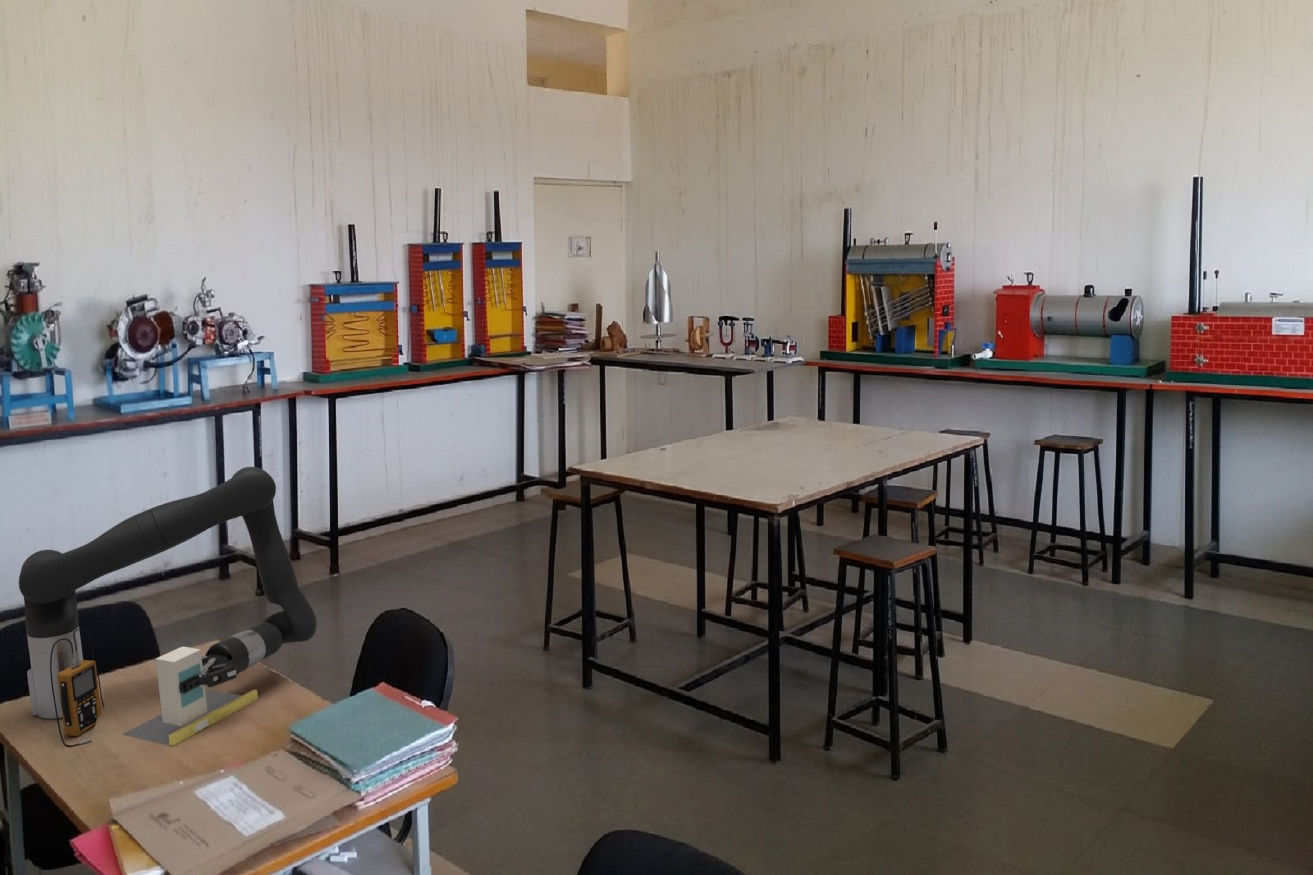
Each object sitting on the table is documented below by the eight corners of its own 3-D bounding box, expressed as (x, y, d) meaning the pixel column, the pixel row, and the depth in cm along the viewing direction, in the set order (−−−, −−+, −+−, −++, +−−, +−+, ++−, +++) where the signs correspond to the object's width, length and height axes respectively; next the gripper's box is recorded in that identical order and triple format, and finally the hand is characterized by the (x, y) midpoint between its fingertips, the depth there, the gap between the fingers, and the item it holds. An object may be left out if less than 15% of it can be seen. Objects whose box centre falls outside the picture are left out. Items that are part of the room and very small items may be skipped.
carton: (162, 722, 206) (155, 658, 203) (189, 708, 212) (182, 646, 209) (181, 726, 204) (174, 662, 202) (207, 712, 210) (201, 649, 207)
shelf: (122, 741, 206) (120, 724, 205) (210, 696, 225) (208, 680, 225) (174, 753, 201) (172, 736, 200) (259, 706, 220) (257, 690, 220)
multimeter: (96, 750, 202) (84, 650, 199) (50, 745, 204) (37, 646, 201) (147, 716, 217) (137, 622, 213) (103, 712, 219) (93, 619, 215)
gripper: (208, 632, 221) (140, 663, 206) (262, 641, 216) (196, 673, 201) (211, 666, 223) (144, 699, 208) (265, 675, 217) (200, 710, 202)
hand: (170, 686), depth 204 cm, fingers closed on carton, 4 cm apart
